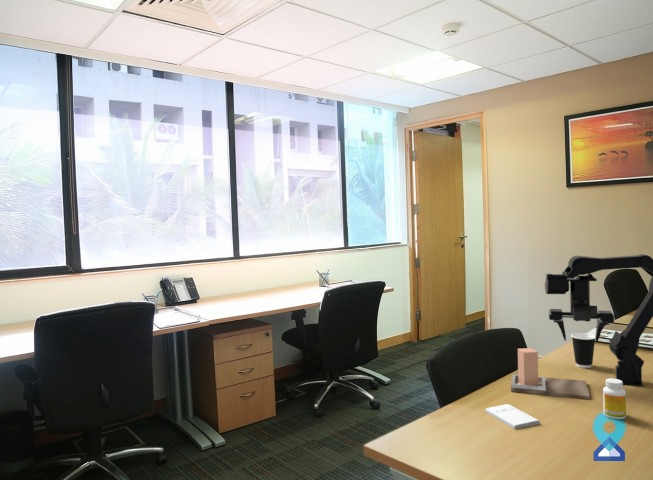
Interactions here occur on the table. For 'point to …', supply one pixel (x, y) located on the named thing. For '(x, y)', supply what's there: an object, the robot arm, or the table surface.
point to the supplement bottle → (614, 399)
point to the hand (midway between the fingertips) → (580, 341)
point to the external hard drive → (512, 416)
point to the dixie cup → (583, 349)
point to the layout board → (553, 387)
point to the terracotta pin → (528, 366)
